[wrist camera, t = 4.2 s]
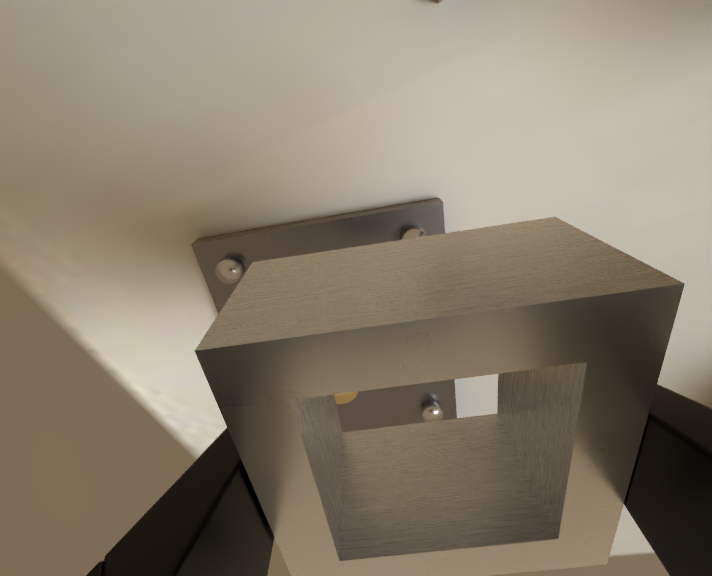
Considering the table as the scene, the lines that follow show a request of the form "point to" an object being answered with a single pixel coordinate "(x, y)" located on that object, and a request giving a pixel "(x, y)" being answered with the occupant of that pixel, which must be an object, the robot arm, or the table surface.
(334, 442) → the end link
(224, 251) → the keeper plate
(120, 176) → the table surface
